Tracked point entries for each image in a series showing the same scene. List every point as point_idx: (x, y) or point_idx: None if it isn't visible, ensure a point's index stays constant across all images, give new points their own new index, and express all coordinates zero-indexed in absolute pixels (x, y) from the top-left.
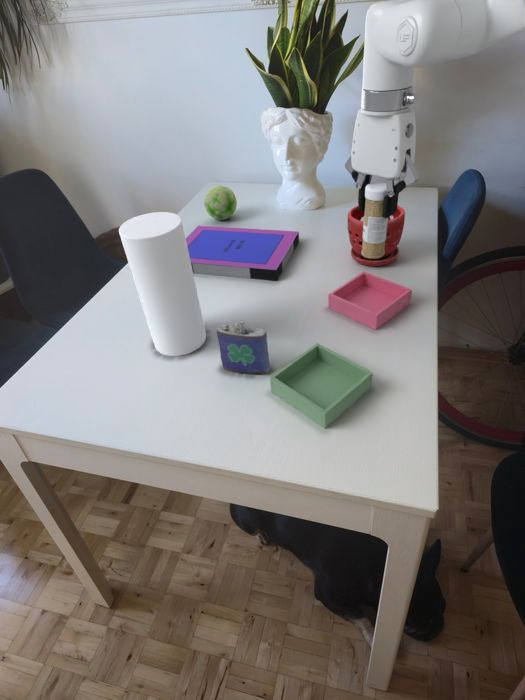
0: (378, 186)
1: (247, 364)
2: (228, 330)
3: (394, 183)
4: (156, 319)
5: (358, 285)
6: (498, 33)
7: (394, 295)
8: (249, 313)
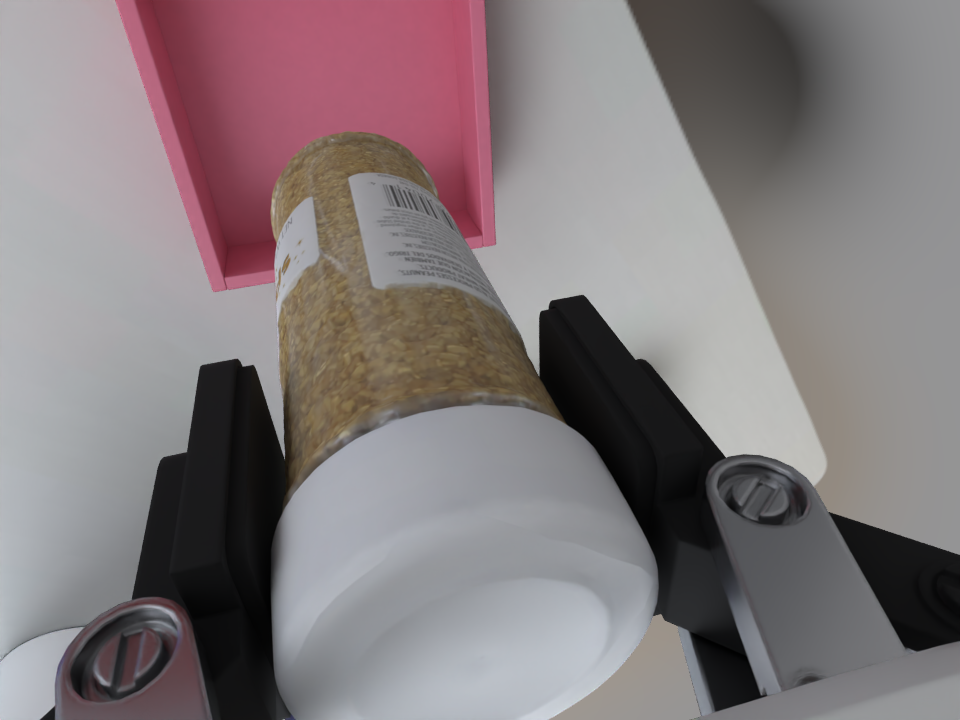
0: (496, 667)
1: None
2: None
3: (735, 601)
4: None
5: (155, 23)
6: None
7: None
8: (56, 500)
